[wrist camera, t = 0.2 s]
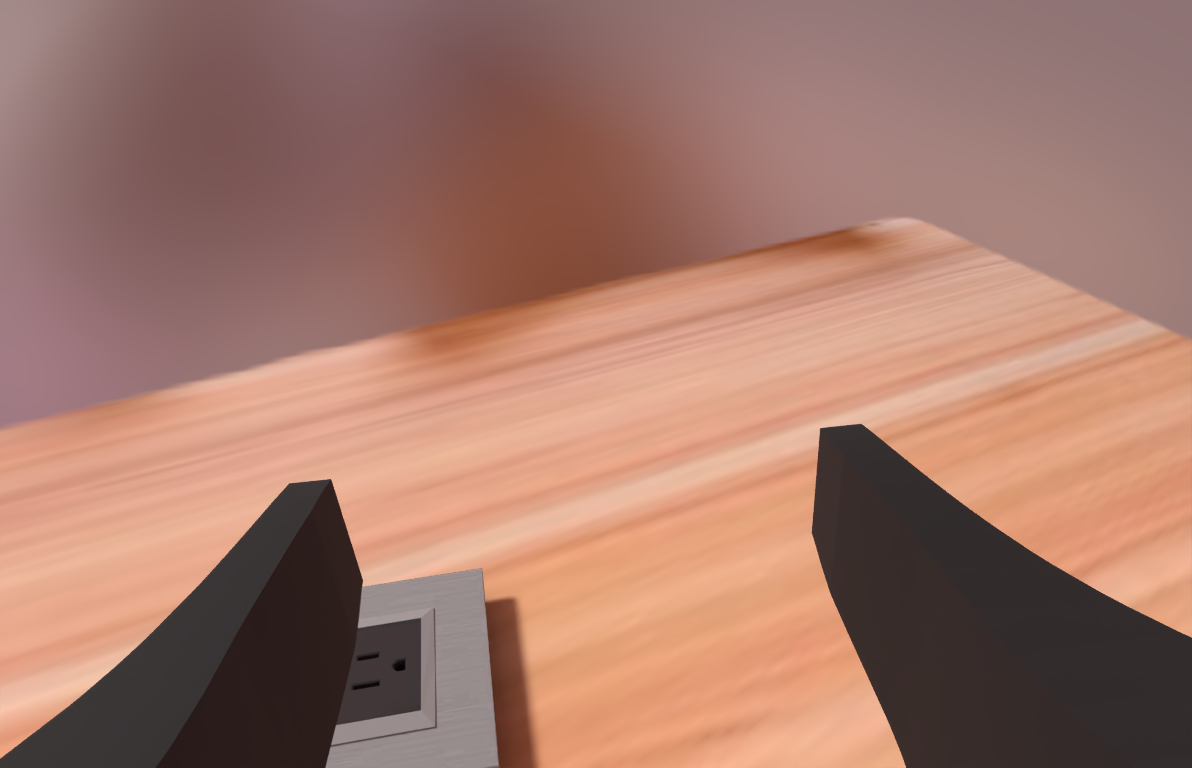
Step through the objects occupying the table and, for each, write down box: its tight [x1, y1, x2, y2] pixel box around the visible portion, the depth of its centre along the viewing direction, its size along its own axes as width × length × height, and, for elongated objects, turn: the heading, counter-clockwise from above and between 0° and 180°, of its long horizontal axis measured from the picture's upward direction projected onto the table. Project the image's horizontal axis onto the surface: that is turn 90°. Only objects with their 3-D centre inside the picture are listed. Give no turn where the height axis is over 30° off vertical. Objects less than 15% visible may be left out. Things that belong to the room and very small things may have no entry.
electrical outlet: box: [326, 568, 499, 768], centre depth 35 cm, size 13×10×2 cm
